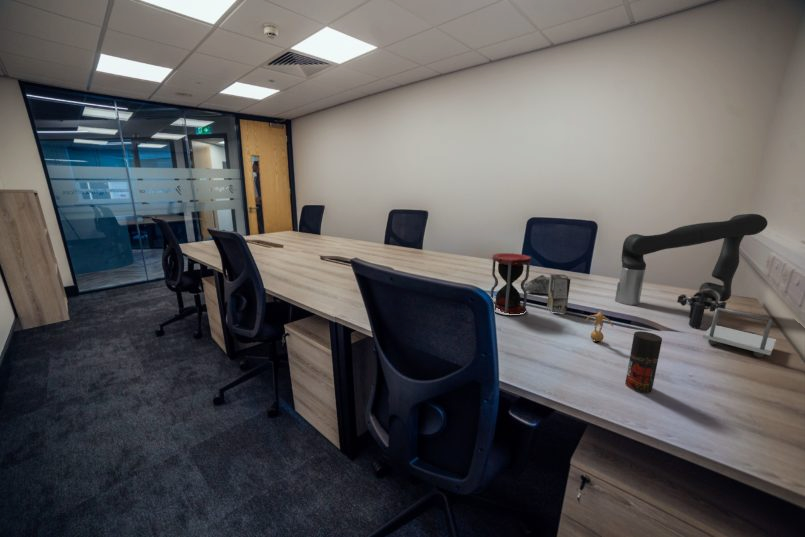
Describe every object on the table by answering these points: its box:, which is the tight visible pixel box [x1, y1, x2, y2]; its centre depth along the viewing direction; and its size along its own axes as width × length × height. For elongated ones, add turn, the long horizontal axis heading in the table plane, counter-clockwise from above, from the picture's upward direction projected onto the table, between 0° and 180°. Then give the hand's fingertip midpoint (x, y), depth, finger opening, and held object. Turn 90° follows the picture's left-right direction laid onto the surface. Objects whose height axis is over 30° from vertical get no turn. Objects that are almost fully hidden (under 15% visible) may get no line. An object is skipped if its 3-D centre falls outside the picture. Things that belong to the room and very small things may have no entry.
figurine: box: [585, 311, 614, 342], centre depth 113 cm, size 8×6×12 cm
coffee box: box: [546, 273, 571, 314], centre depth 144 cm, size 9×6×16 cm
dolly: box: [702, 308, 777, 358], centre depth 110 cm, size 16×15×14 cm
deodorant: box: [624, 331, 663, 394], centre depth 86 cm, size 6×6×15 cm
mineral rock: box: [524, 274, 550, 295], centre depth 172 cm, size 13×11×10 cm
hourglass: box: [490, 252, 532, 314], centre depth 144 cm, size 16×16×25 cm
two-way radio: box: [688, 291, 706, 329], centre depth 128 cm, size 6×4×15 cm
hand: (697, 306), depth 127 cm, fingers open, 8 cm apart
